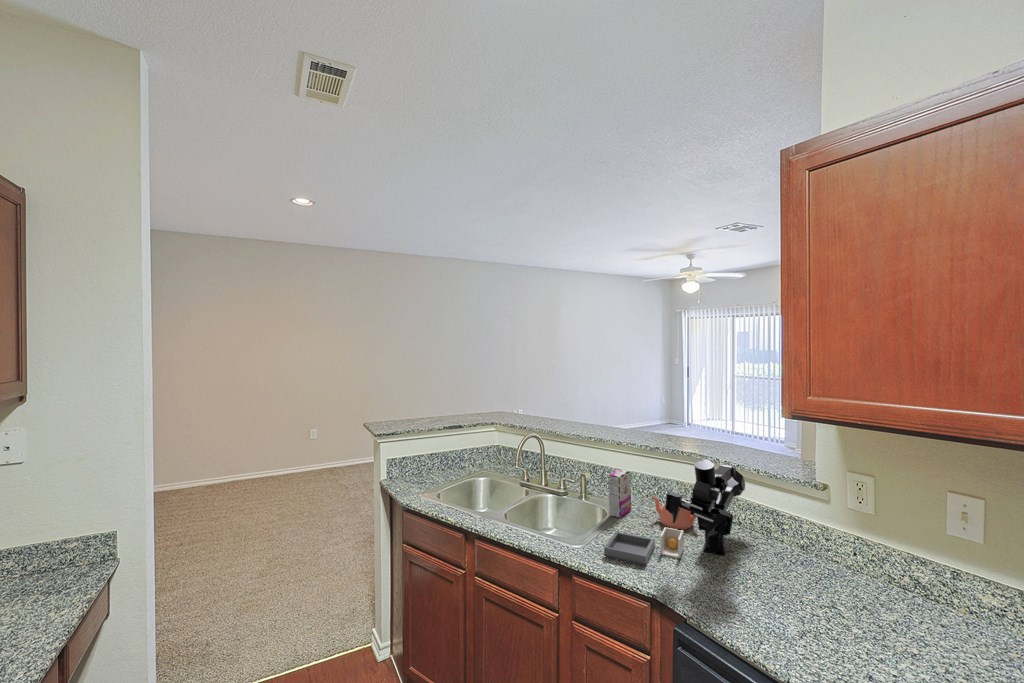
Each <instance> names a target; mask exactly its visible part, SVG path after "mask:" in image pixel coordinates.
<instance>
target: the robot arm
mask: <svg viewBox="0 0 1024 683" xmlns="http://www.w3.org/2000/svg"><path fill="white" fill-rule="evenodd" d="M693 465H694V466H693V467H694V474H695V483H694V485H693V488H692V493H691V495H690V499H689V501H690V502H689V501H686V500H684V499H683V495H682V494H681V493H677V492H675V491H672V490H670V491H668V493H667V494H666V496H665V498H666V500H665V503H666V507H665V508H666V510H667V511H669V513H671V514H672V516H673V523H675V522H676V520H677V517H678V514H679V511H680V508H683V509H686V510H688V511H690V514H691V515H693V516H696V518H697V523H698V530H700V531H704V545H703V548H702V551H703V552H707V553H712V554H717V555H722V556H726V550H727V545H725V537H727V535H728V536H729V535H731V531H732V528H733V523H734V514H732V513H731V512H728V511H727V510H728V508H729V507H730V505H731V503H732V500H734V498H735V497H738V496H741V495H742V494H743V492H745V489H746V481H745V479H744V476H743V474H741V473H740V472H739V471H738V470H737V468H736V467H735V466H734V465H728V464H720V465H719V466H718V468H717V469H715V464H714V463H713V462H712V461H711V460H710V459H706V458H705V459H703V460H699V461H697V462H695V463H694V464H693Z"/></svg>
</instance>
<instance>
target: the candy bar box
mask: <svg viewBox="0 0 1024 683" xmlns="http://www.w3.org/2000/svg"><path fill="white" fill-rule="evenodd" d="M631 487H632V485H631V470H628V469H623V468H619V469H617V470H616V471H614V472H612V473H610V474H608V501H609V506H608V507H609V508H608V509H609V517H612V516H616V517H615V518H617V517H619V518H618V519H622V518H623V517H624V516H625V515H627V514H628V513H629V512H631V511H632V497H631V494H632V492H631V491H632V490H631ZM630 510H631V511H630ZM626 513H627V514H626ZM622 516H623V517H622ZM621 517H622V518H621Z"/></svg>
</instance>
